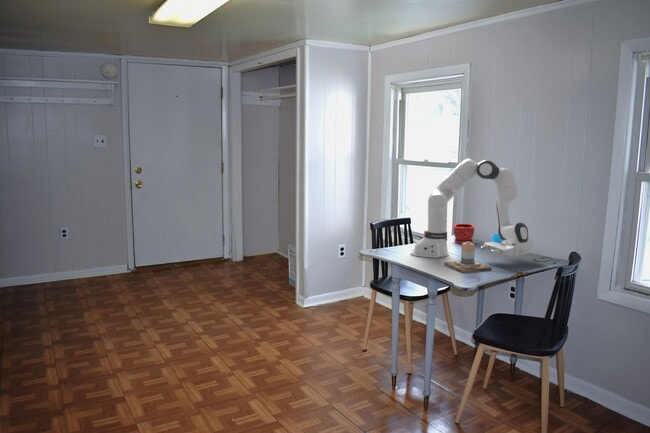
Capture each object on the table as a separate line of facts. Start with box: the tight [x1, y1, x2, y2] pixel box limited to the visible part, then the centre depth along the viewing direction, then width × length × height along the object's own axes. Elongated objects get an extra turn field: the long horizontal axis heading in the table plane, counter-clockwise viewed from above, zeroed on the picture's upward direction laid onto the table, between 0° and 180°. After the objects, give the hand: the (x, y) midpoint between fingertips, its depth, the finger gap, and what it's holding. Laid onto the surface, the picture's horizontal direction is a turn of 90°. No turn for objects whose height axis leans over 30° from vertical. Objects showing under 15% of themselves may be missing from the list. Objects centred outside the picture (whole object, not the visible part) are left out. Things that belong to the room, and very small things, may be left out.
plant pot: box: [453, 223, 475, 245], centre depth 345 cm, size 13×13×12 cm
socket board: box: [443, 260, 492, 274], centre depth 285 cm, size 18×18×3 cm
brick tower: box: [460, 242, 476, 265], centre depth 284 cm, size 5×5×13 cm
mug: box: [491, 234, 503, 244], centre depth 329 cm, size 12×8×8 cm
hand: (486, 250), depth 287 cm, fingers open, 8 cm apart
